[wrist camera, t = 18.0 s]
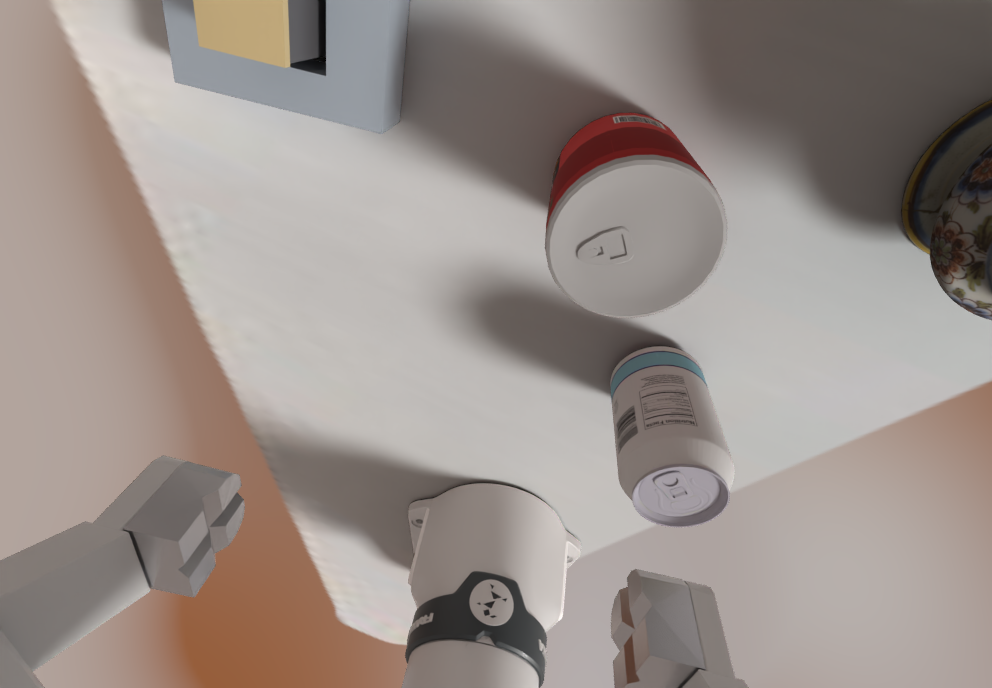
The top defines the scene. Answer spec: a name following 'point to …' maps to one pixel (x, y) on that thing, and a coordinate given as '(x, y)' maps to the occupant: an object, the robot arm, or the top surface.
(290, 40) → the plug
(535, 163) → the top surface
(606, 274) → the canned food
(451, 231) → the top surface
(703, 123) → the top surface
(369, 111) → the socket block
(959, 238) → the apothecary jar
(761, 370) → the top surface
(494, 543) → the robot arm
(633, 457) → the beverage can
